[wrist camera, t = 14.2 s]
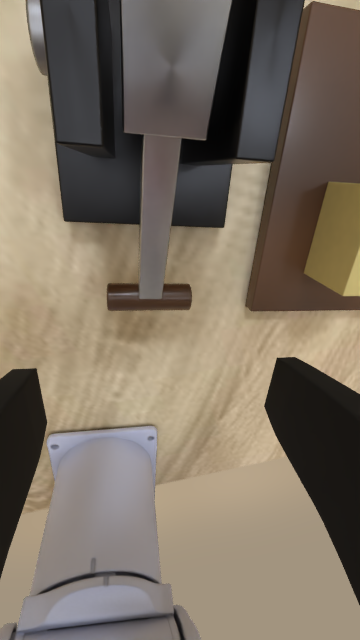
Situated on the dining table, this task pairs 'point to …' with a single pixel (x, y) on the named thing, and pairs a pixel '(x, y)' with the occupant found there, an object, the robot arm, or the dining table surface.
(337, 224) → the butter
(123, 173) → the slicer
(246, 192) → the dining table surface
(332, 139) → the board
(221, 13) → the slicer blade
